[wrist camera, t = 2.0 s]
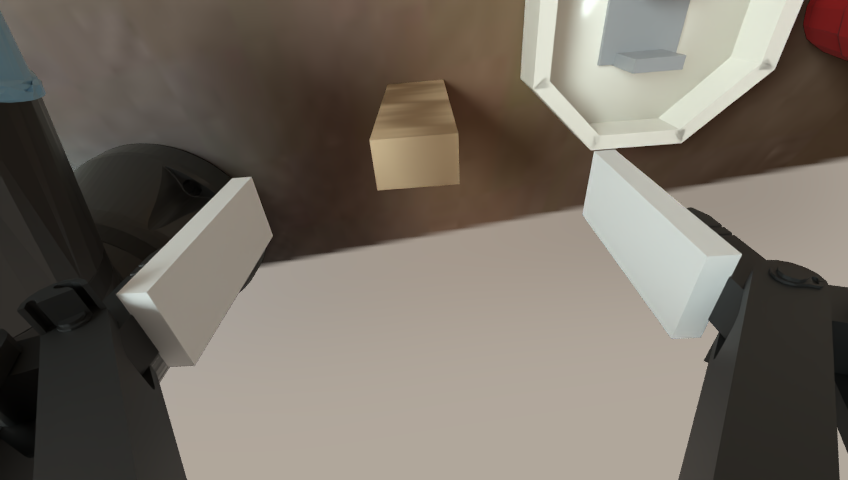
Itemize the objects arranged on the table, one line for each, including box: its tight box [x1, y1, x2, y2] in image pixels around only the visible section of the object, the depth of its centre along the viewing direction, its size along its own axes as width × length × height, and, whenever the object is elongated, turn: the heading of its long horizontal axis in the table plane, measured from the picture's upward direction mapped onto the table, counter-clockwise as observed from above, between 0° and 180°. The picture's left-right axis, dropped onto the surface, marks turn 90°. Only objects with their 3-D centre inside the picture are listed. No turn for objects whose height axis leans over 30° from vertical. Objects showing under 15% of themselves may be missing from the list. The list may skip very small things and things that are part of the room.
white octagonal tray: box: [520, 0, 804, 150], centre depth 23 cm, size 15×15×4 cm
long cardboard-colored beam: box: [369, 80, 460, 190], centre depth 22 cm, size 4×2×12 cm, turn 94°
